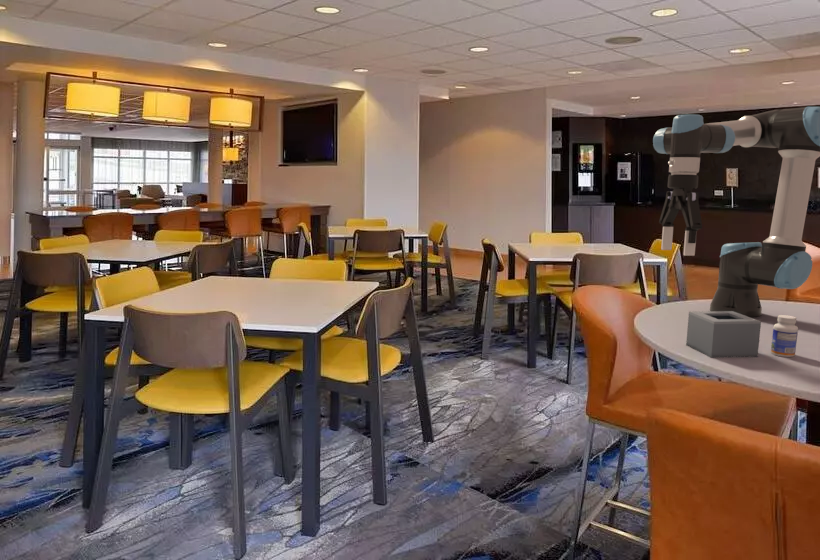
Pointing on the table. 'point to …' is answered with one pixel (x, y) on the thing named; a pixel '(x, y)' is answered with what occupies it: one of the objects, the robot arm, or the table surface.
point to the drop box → (723, 334)
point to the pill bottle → (784, 336)
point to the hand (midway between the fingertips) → (677, 252)
